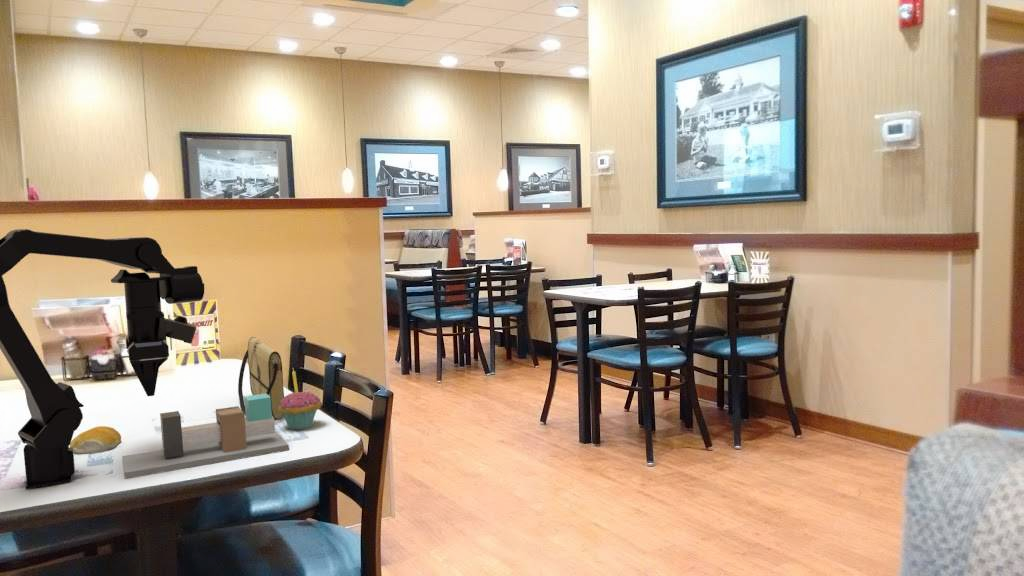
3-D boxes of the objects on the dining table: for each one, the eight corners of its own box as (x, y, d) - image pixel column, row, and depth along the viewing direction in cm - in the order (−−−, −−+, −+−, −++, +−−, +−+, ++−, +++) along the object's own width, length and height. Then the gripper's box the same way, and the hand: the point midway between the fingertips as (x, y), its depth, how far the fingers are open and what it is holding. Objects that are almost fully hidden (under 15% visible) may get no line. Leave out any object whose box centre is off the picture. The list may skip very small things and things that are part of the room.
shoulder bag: (232, 399, 182) (227, 338, 181) (261, 395, 186) (257, 335, 184) (253, 426, 156) (249, 355, 155) (288, 421, 160) (283, 351, 158)
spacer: (249, 421, 138) (248, 400, 138) (245, 417, 141) (244, 396, 141) (271, 418, 140) (270, 397, 140) (267, 413, 143) (266, 393, 143)
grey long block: (165, 458, 131) (161, 418, 131) (163, 452, 135) (160, 413, 134) (276, 439, 141) (273, 402, 140) (271, 435, 144) (269, 398, 143)
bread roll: (125, 439, 150) (123, 420, 150) (112, 452, 141) (110, 431, 141) (80, 443, 148) (78, 423, 148) (63, 457, 140) (62, 435, 139)
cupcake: (272, 427, 155) (268, 369, 154) (309, 418, 161) (305, 363, 160) (292, 434, 149) (288, 374, 148) (330, 425, 155) (327, 368, 154)
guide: (124, 478, 125) (121, 434, 125) (122, 461, 135) (119, 420, 134) (288, 449, 138) (286, 410, 138) (276, 436, 148) (273, 398, 147)
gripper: (197, 307, 132) (202, 394, 133) (186, 299, 148) (191, 377, 149) (126, 312, 126) (132, 403, 128) (123, 303, 143) (128, 384, 144)
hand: (149, 391), depth 137 cm, fingers open, 9 cm apart
